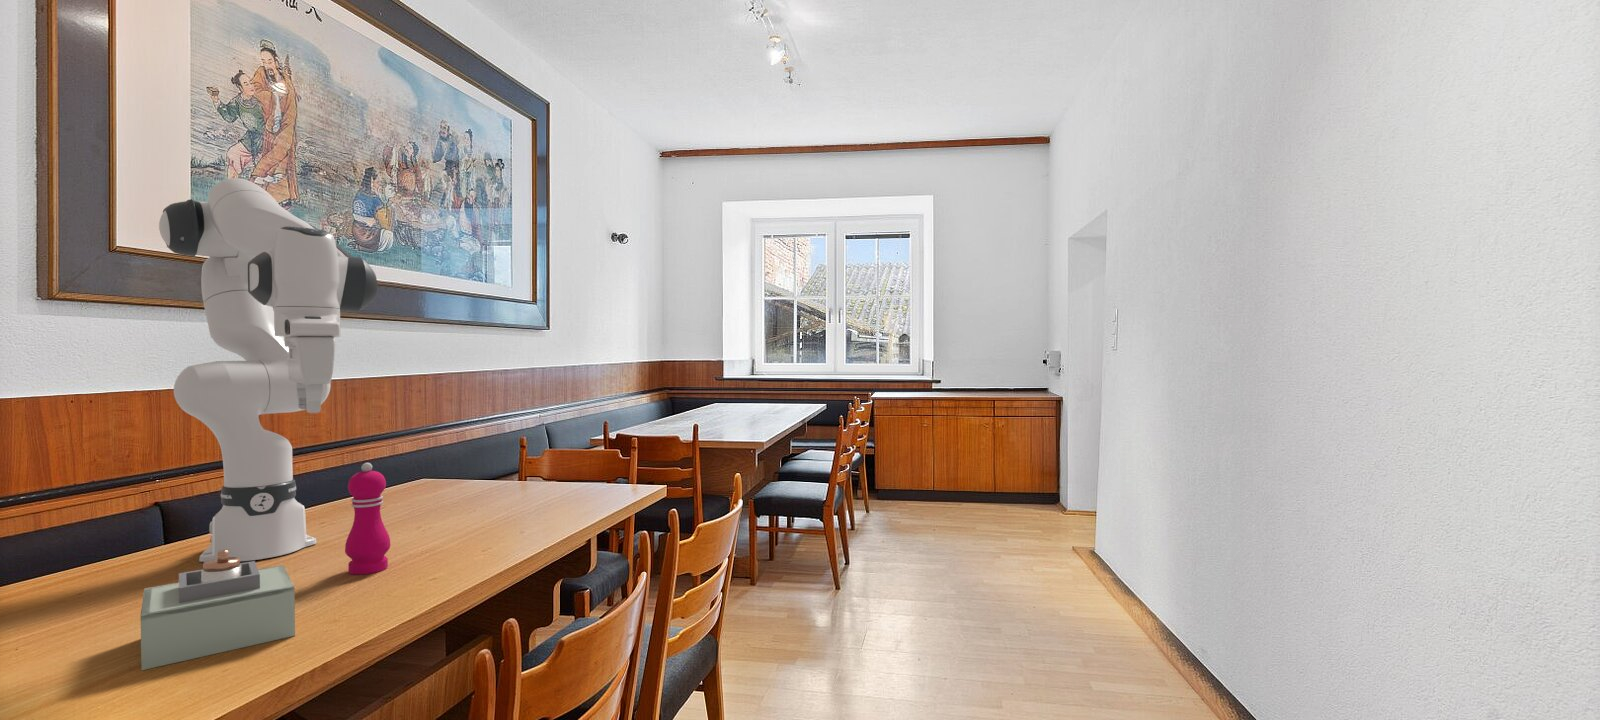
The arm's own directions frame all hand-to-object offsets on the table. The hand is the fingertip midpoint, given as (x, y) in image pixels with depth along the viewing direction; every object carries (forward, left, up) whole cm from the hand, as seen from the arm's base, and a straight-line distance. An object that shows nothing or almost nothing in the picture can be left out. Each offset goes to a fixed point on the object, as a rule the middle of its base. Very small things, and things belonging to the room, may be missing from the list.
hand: (309, 410), depth 114 cm
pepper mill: (-12, +10, -31) cm, 35 cm away
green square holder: (+9, -12, -31) cm, 34 cm away
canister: (+9, -12, -30) cm, 34 cm away
